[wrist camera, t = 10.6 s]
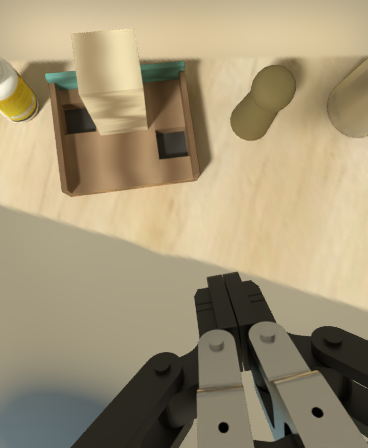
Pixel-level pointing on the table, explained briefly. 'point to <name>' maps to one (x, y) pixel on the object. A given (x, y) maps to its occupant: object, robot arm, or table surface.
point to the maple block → (110, 80)
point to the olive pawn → (263, 102)
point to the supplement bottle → (15, 95)
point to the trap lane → (125, 137)
